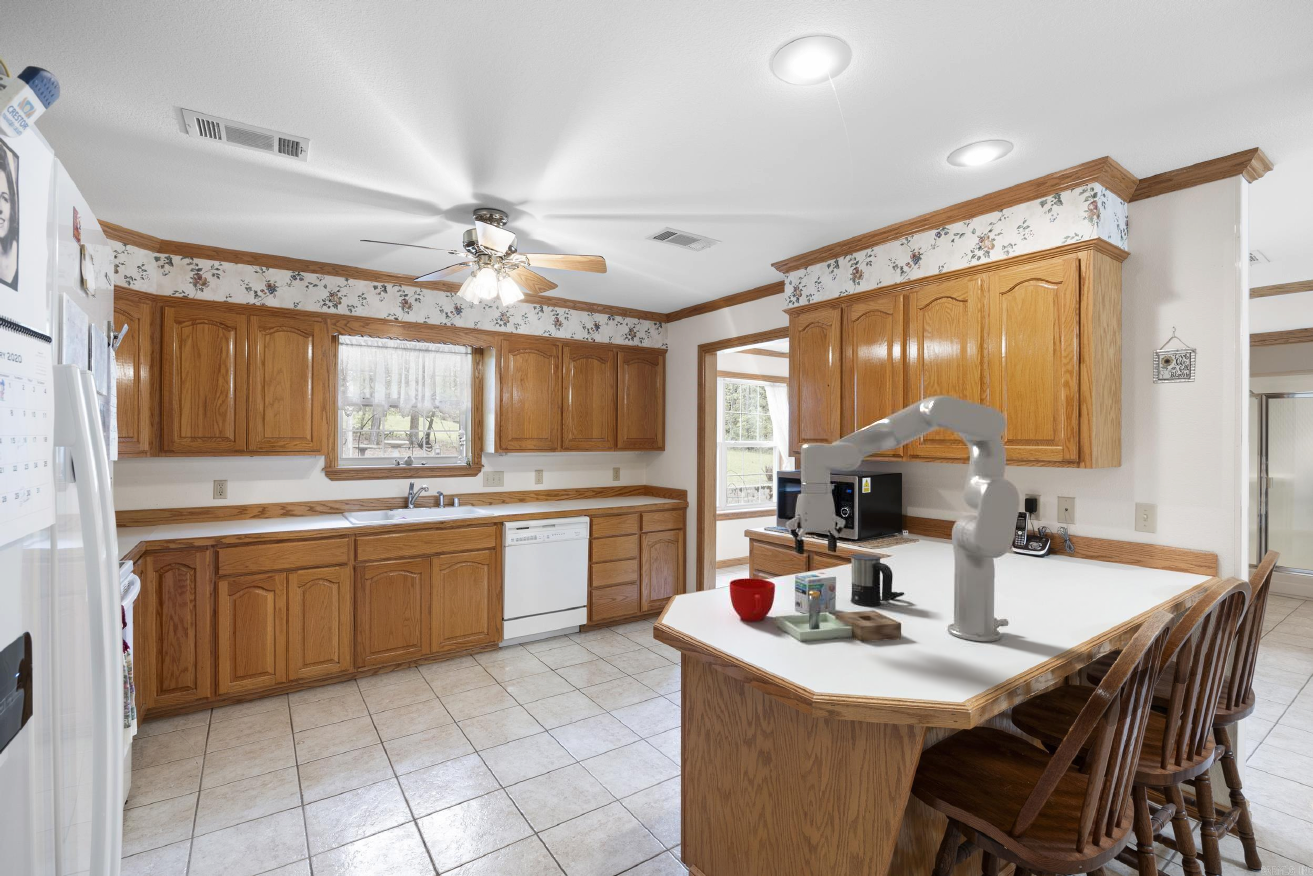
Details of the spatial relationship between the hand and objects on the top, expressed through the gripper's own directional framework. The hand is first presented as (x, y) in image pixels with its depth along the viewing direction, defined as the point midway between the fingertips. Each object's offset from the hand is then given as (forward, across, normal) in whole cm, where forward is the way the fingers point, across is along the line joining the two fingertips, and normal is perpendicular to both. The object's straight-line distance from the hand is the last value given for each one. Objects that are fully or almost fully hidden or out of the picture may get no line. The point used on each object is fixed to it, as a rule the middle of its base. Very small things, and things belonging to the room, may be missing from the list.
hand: (816, 552), depth 167 cm
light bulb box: (+22, -9, -17) cm, 29 cm away
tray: (+21, +1, 0) cm, 21 cm away
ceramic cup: (+21, +13, -13) cm, 28 cm away
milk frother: (+22, -34, -21) cm, 46 cm away
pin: (+21, +1, 0) cm, 21 cm away
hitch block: (+21, -12, +5) cm, 25 cm away
